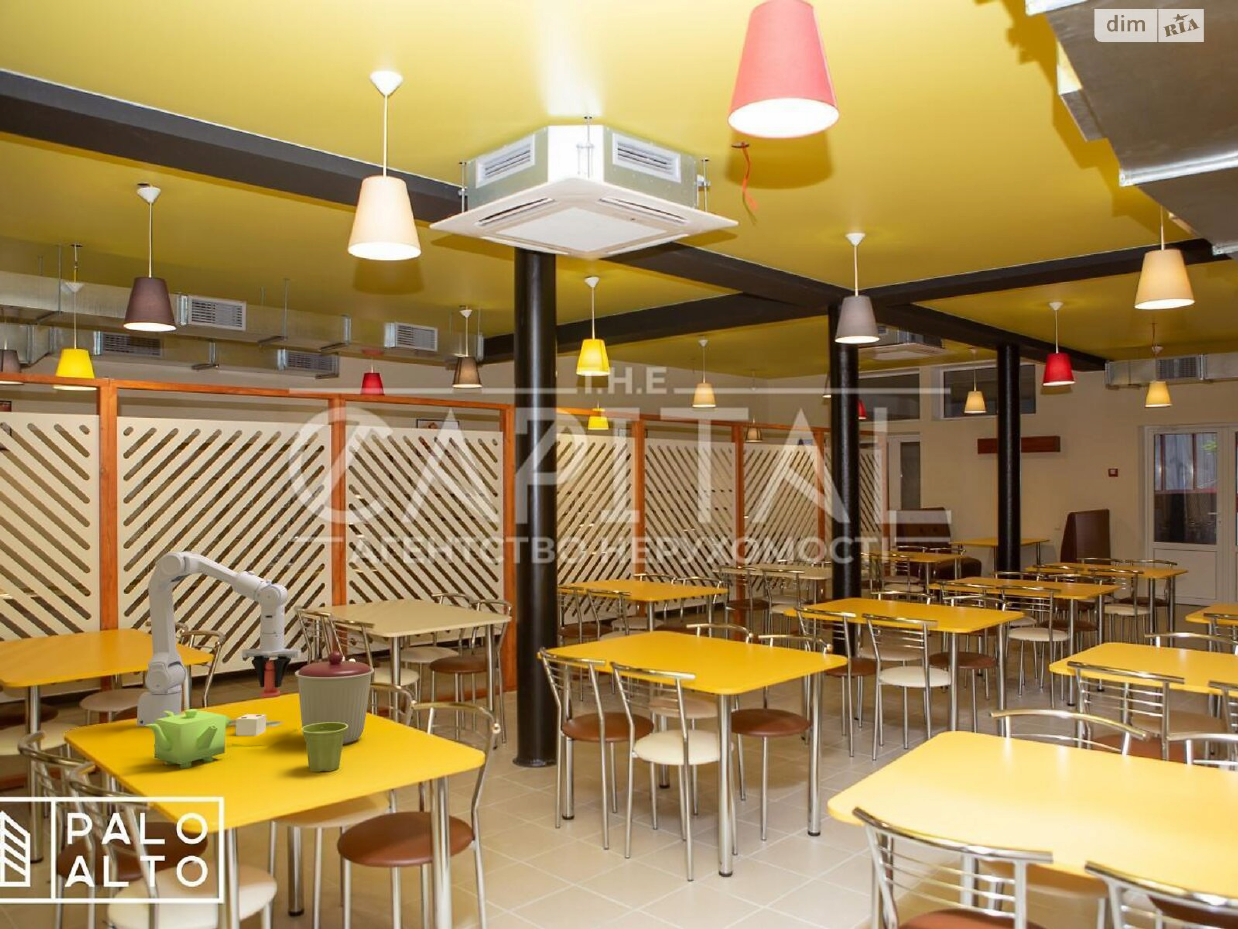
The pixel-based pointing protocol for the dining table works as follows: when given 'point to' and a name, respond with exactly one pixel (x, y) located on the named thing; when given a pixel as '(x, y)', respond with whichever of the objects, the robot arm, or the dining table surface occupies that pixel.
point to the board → (268, 723)
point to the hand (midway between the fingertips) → (270, 686)
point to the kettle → (189, 737)
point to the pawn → (269, 681)
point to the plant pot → (324, 745)
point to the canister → (335, 693)
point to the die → (250, 725)
